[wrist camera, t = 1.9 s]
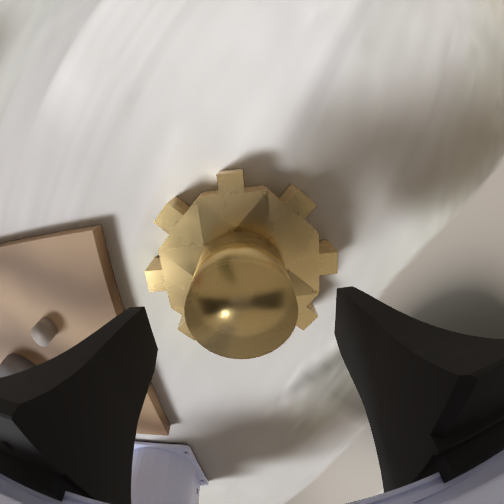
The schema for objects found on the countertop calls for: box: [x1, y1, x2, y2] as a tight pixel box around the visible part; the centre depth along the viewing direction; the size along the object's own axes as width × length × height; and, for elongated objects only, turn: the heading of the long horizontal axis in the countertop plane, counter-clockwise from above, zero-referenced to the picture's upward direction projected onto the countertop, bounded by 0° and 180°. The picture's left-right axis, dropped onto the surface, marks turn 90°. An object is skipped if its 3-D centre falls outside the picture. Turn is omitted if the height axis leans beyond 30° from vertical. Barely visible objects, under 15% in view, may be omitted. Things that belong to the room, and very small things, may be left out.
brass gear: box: [145, 169, 338, 359], centre depth 14 cm, size 10×10×6 cm
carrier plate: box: [0, 225, 170, 435], centre depth 17 cm, size 18×18×4 cm
